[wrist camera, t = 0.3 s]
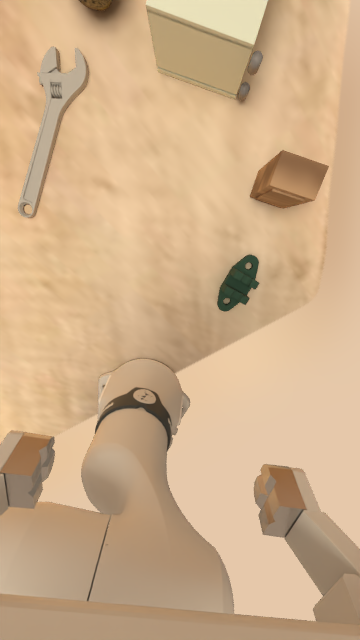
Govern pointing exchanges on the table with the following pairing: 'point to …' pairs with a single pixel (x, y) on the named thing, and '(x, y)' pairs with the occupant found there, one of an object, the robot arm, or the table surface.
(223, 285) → the mount
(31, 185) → the adjustable wrench
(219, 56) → the cabinet
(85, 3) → the brown hollow round piece
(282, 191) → the brown wooden tall block
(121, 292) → the table surface
